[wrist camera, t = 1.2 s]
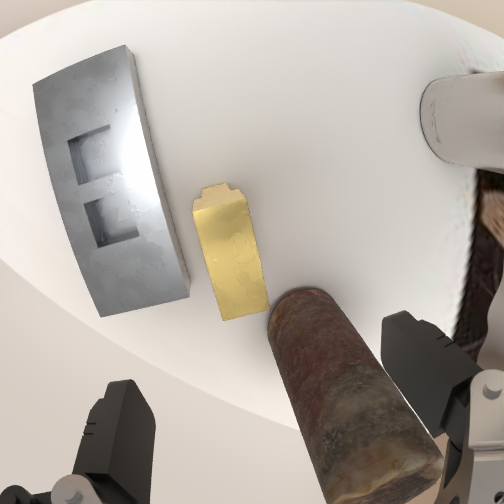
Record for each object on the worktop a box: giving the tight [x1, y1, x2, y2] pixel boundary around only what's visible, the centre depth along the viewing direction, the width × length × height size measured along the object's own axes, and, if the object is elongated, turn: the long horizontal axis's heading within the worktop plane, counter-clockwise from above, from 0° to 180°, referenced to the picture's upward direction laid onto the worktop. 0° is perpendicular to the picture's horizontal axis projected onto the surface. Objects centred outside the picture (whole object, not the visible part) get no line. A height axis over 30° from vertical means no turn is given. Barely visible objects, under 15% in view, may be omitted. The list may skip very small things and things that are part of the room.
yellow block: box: [192, 183, 270, 321], centre depth 22 cm, size 3×7×8 cm, turn 12°
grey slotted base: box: [33, 45, 191, 317], centre depth 22 cm, size 8×20×3 cm, turn 12°
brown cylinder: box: [267, 289, 445, 504], centre depth 21 cm, size 8×7×20 cm
